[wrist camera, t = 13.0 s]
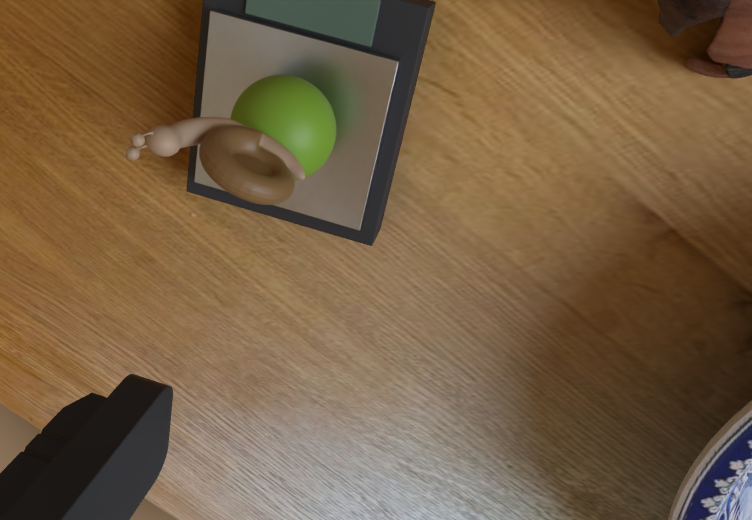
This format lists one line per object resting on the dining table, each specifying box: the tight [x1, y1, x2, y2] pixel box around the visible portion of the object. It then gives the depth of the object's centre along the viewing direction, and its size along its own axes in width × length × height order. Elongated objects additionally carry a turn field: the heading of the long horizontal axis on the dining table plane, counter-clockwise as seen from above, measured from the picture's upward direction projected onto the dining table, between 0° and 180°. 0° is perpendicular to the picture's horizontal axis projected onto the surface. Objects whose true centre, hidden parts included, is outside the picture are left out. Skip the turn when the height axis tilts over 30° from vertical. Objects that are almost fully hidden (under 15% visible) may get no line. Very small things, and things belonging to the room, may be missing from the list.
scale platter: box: [194, 9, 401, 230], centre depth 38 cm, size 10×10×1 cm
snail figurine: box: [126, 75, 336, 205], centre depth 32 cm, size 5×6×12 cm
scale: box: [187, 0, 436, 246], centre depth 39 cm, size 14×12×3 cm
